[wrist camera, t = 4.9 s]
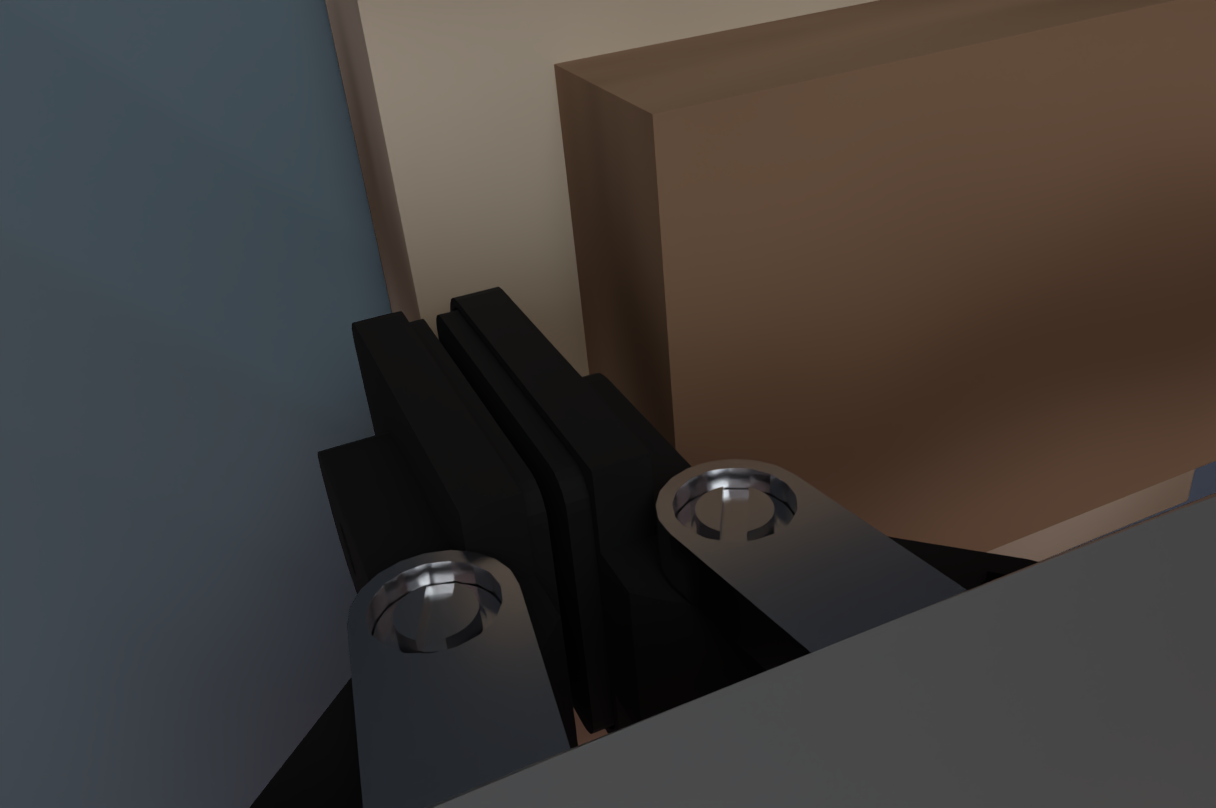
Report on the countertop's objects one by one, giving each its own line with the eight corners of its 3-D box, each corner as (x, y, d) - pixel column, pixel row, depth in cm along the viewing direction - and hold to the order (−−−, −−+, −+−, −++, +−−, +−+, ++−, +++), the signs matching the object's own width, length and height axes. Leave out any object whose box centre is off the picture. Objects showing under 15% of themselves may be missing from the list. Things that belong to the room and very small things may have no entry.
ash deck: (264, -282, 11) (297, -299, 9) (1254, -365, 15) (1392, -386, 14) (473, 692, 18) (512, 777, 17) (1107, 451, 22) (1187, 500, 21)
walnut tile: (554, 64, 12) (651, 114, 10) (1166, -57, 15) (1342, -38, 13) (610, 559, 15) (691, 669, 13) (1093, 388, 18) (1221, 458, 16)
